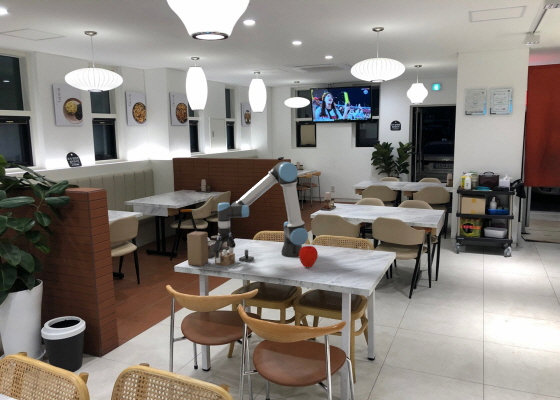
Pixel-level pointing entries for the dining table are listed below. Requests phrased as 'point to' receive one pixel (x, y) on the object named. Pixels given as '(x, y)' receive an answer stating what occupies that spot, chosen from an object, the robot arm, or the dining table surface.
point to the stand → (246, 257)
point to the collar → (226, 259)
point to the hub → (222, 265)
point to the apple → (308, 256)
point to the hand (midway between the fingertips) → (224, 260)
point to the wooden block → (197, 248)
